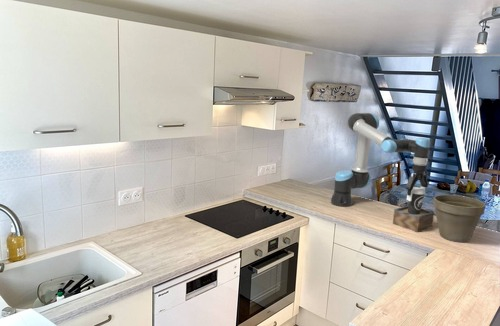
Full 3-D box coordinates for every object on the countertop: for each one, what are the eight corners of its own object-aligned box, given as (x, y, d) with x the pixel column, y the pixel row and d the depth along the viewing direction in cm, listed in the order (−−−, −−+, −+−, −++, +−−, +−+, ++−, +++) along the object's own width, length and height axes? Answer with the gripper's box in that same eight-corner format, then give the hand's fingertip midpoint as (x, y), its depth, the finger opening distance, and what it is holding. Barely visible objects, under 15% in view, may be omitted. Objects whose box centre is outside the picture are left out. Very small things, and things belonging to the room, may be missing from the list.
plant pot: (421, 235, 203) (425, 198, 199) (439, 225, 219) (444, 191, 215) (469, 250, 185) (476, 210, 180) (486, 239, 200) (492, 202, 196)
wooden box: (392, 223, 220) (394, 209, 219) (407, 219, 229) (409, 205, 228) (417, 232, 208) (419, 217, 206) (432, 227, 217) (434, 212, 215)
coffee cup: (419, 210, 221) (422, 187, 218) (424, 216, 212) (428, 191, 209) (403, 209, 222) (406, 186, 219) (408, 214, 213) (411, 190, 210)
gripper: (414, 167, 201) (409, 203, 205) (437, 163, 215) (432, 197, 219) (401, 164, 207) (397, 200, 211) (425, 161, 221) (420, 194, 225)
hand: (415, 198), depth 215 cm, fingers open, 13 cm apart
